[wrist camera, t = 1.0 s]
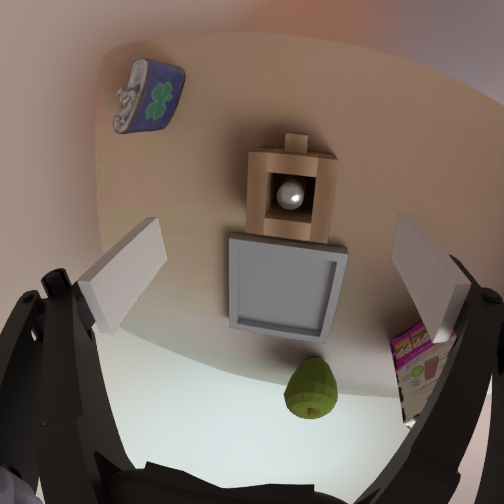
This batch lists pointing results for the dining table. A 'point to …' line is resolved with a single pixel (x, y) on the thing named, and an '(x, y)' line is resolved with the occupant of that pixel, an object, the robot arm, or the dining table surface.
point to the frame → (262, 191)
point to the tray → (284, 286)
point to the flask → (149, 97)
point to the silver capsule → (291, 192)
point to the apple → (311, 390)
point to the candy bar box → (417, 368)
